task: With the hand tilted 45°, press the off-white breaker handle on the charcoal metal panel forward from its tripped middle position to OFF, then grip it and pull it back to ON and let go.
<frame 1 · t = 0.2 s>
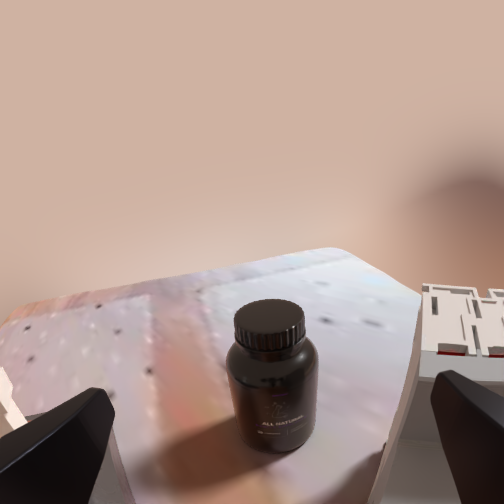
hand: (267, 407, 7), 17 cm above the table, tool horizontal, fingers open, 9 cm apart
breaker handle: (14, 436, 13), point 8 cm above the table, slide at 2.5 cm
supplement bottle: (277, 427, 24), on the table
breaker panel: (68, 495, 16), on the table
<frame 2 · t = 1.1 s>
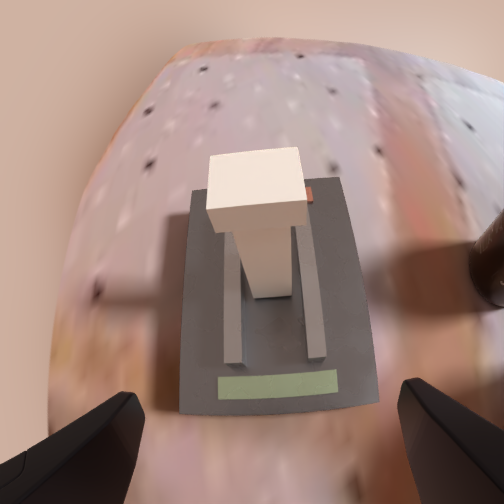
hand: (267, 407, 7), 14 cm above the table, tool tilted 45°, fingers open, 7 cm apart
breaker handle: (265, 240, 16), point 8 cm above the table, slide at 2.5 cm
supplement bottle: (494, 274, 21), on the table
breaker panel: (274, 297, 23), on the table
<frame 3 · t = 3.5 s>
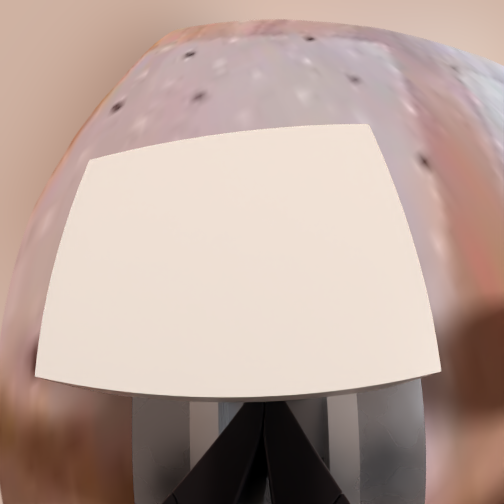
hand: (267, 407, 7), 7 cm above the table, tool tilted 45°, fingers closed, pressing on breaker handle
breaker handle: (261, 346, 7), point 8 cm above the table, slide at 3.6 cm, touching gripper
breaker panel: (277, 401, 14), on the table
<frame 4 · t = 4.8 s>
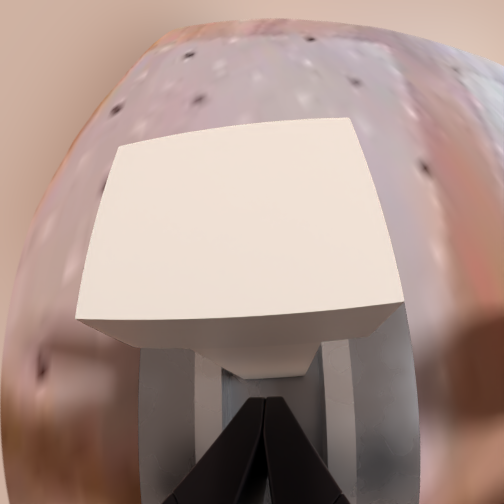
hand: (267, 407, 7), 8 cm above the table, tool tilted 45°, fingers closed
breaker handle: (262, 316, 8), point 8 cm above the table, slide at 5.0 cm
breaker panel: (278, 408, 14), on the table
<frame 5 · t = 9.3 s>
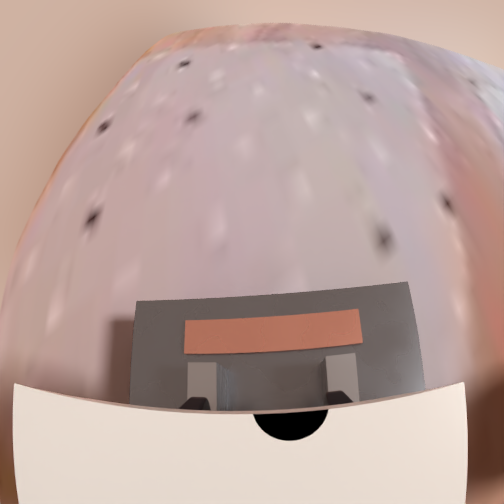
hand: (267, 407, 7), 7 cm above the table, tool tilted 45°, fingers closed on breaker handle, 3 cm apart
breaker handle: (265, 468, 5), point 8 cm above the table, slide at 5.0 cm, touching gripper
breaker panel: (280, 482, 11), on the table
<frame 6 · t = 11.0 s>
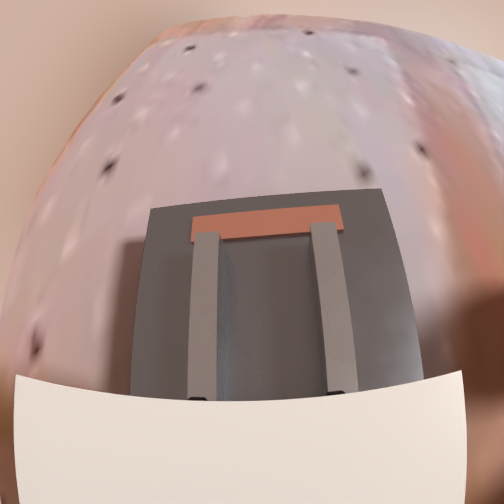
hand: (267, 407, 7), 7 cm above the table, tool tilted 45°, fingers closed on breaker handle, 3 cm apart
breaker handle: (265, 465, 5), point 8 cm above the table, slide at 0.0 cm, touching gripper
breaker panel: (277, 382, 14), on the table
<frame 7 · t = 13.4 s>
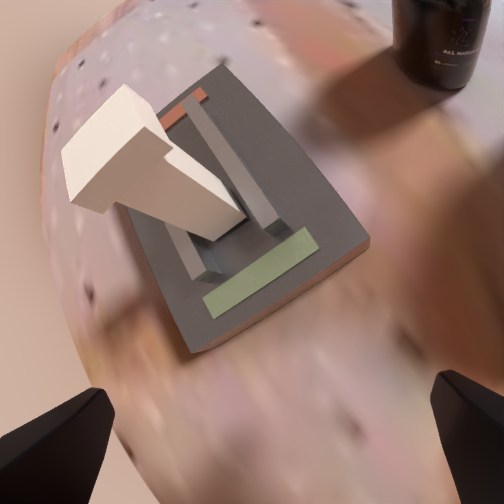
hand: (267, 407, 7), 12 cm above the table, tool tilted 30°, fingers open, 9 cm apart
breaker handle: (173, 184, 13), point 8 cm above the table, slide at 0.0 cm
supplement bottle: (433, 63, 18), on the table
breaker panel: (225, 198, 22), on the table
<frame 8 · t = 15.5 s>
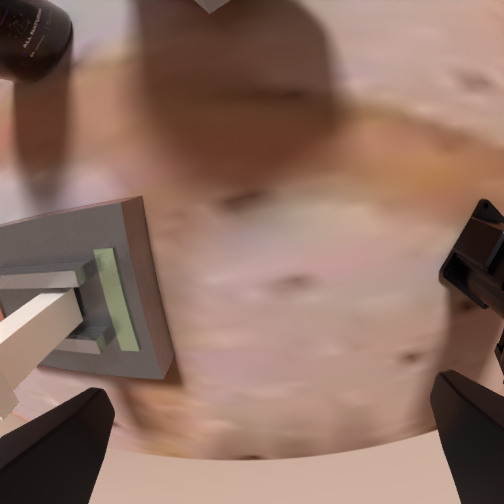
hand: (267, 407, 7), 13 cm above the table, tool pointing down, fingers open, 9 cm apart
breaker handle: (22, 339, 13), point 8 cm above the table, slide at 0.0 cm
supplement bottle: (43, 45, 16), on the table
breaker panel: (65, 286, 21), on the table
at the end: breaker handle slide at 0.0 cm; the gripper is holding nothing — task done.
